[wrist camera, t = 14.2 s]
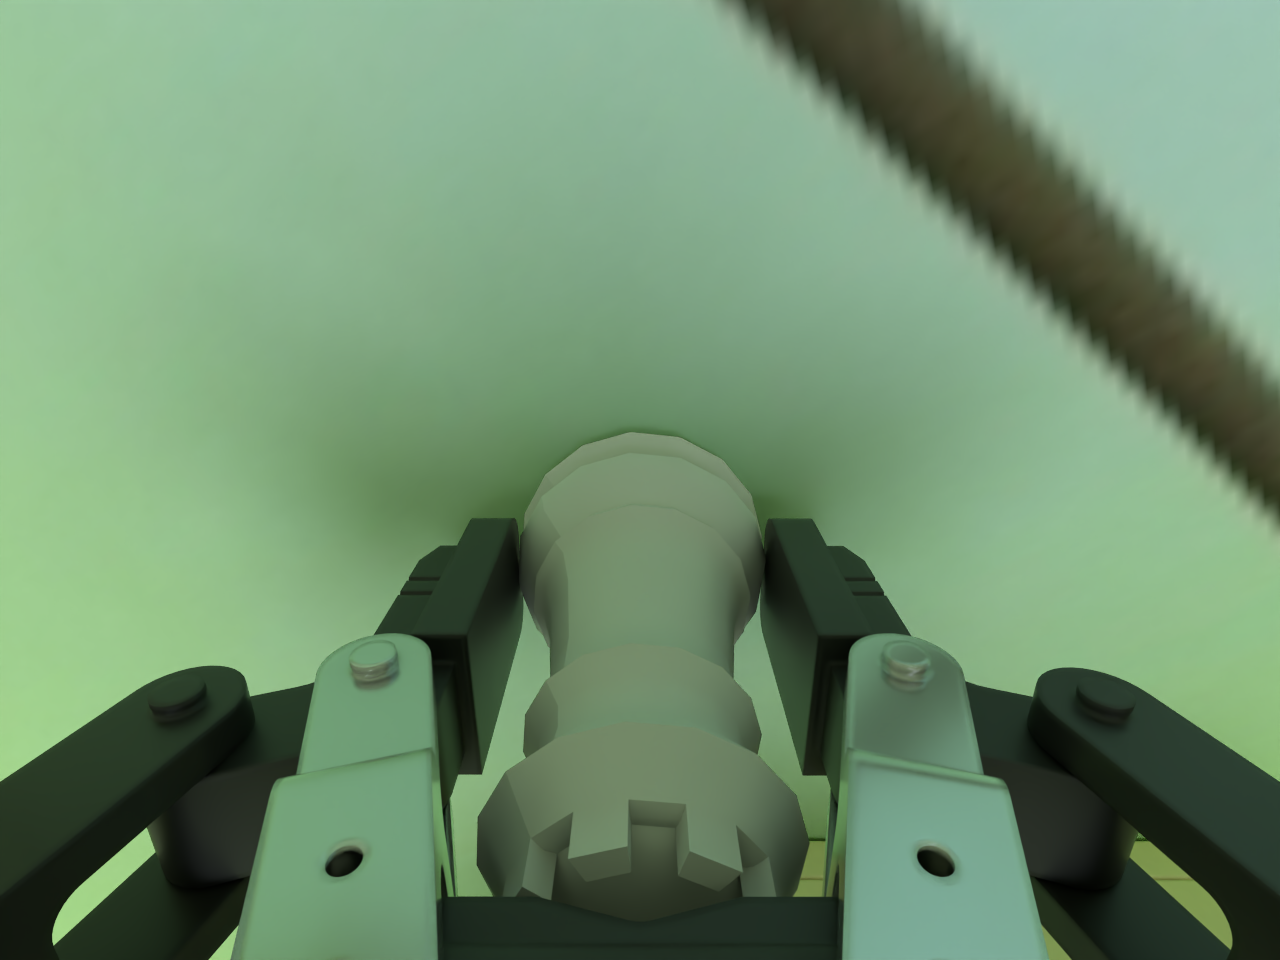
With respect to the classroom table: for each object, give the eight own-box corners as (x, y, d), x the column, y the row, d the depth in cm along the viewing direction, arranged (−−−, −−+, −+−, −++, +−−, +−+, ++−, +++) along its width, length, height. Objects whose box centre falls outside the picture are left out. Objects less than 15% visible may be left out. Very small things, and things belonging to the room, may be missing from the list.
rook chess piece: (479, 548, 13) (280, 975, 6) (625, 373, 12) (600, 644, 5) (654, 669, 15) (669, 1160, 7) (806, 520, 13) (1017, 930, 6)
